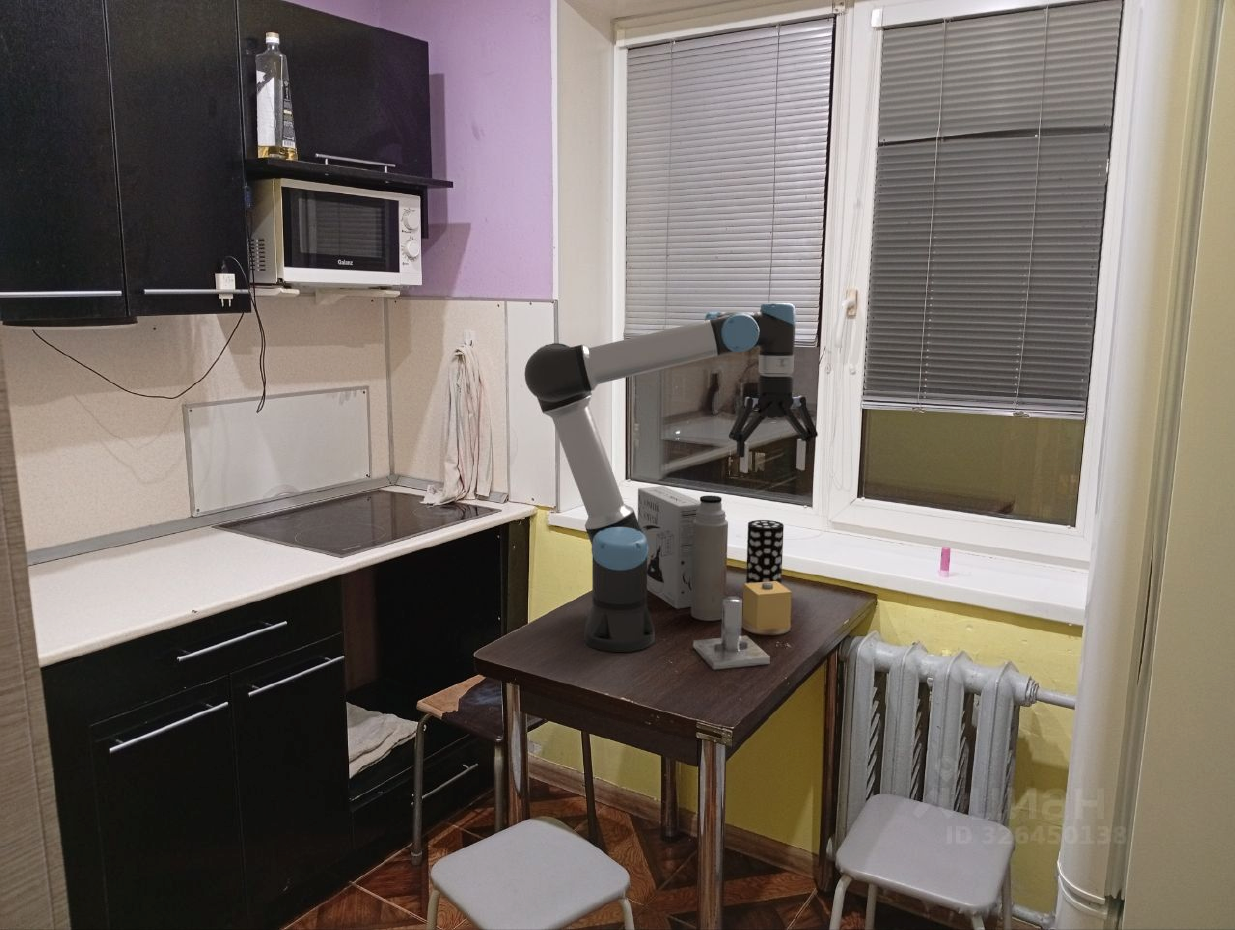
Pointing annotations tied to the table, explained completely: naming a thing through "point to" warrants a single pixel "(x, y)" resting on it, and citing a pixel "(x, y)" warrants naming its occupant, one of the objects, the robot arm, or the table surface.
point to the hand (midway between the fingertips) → (772, 470)
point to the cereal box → (668, 542)
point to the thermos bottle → (709, 559)
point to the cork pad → (764, 632)
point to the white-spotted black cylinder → (764, 551)
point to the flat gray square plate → (731, 641)
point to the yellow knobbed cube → (767, 605)
